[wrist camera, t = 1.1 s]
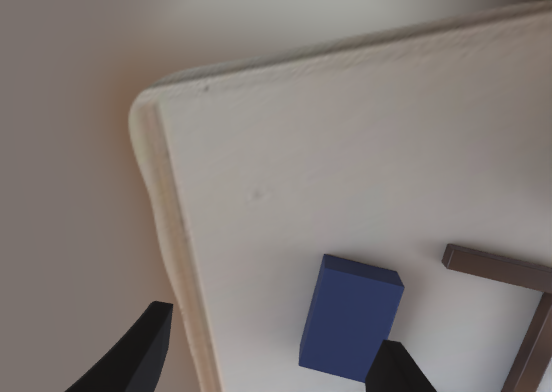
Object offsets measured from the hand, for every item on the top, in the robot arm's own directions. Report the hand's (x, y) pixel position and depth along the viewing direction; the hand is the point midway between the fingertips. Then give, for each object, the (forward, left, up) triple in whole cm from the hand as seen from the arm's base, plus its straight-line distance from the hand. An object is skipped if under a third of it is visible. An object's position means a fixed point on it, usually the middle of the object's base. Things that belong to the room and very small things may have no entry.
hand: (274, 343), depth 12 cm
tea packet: (-6, -5, -15) cm, 17 cm away
